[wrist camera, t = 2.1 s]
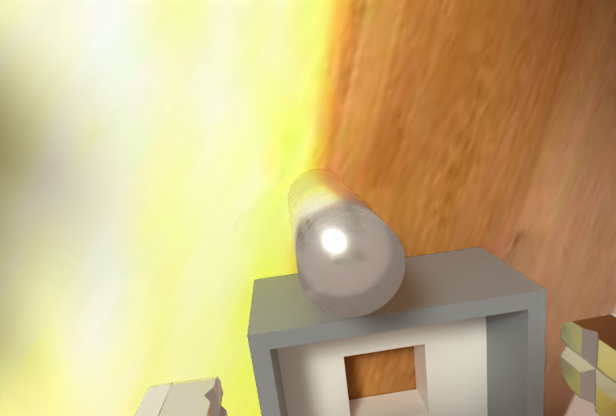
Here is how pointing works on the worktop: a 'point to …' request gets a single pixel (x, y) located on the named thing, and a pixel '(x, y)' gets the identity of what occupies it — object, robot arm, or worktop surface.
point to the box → (408, 342)
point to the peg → (342, 247)
